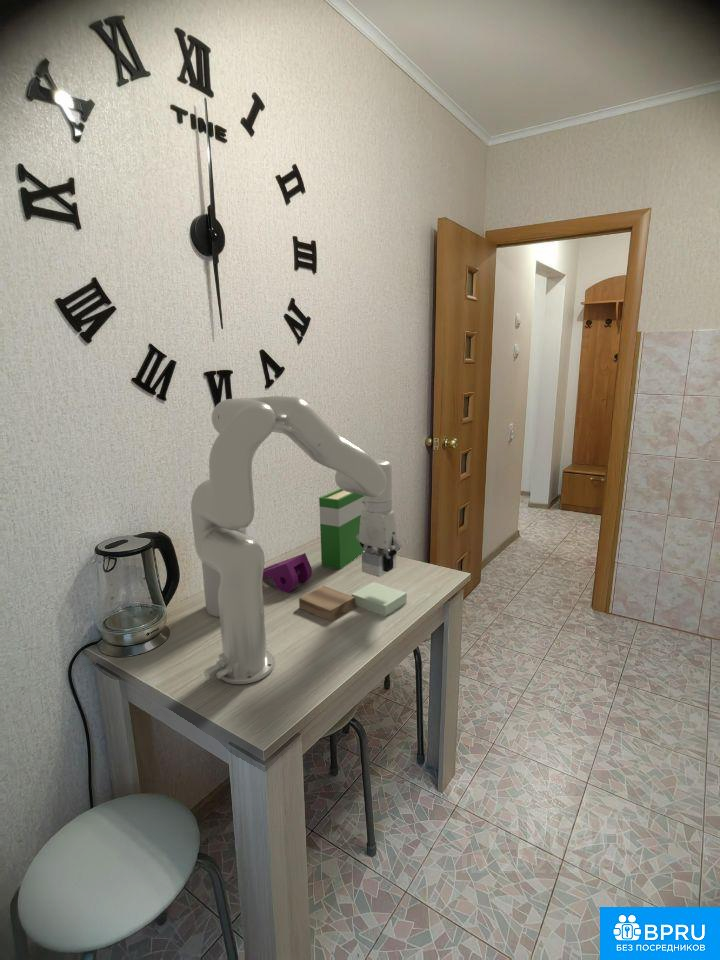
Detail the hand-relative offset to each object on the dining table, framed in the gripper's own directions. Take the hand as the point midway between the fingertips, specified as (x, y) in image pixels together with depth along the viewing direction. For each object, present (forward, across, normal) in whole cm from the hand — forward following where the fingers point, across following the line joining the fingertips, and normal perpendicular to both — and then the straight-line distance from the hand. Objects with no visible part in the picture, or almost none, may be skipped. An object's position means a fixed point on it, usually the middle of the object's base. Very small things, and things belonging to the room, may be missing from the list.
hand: (379, 566), depth 138 cm
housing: (+1, 0, 0) cm, 1 cm away
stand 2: (+11, 0, 0) cm, 11 cm away
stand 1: (+11, -10, -11) cm, 19 cm away
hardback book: (+11, -30, +19) cm, 37 cm away
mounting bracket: (+11, -33, -8) cm, 36 cm away
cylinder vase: (+11, -32, -28) cm, 44 cm away
